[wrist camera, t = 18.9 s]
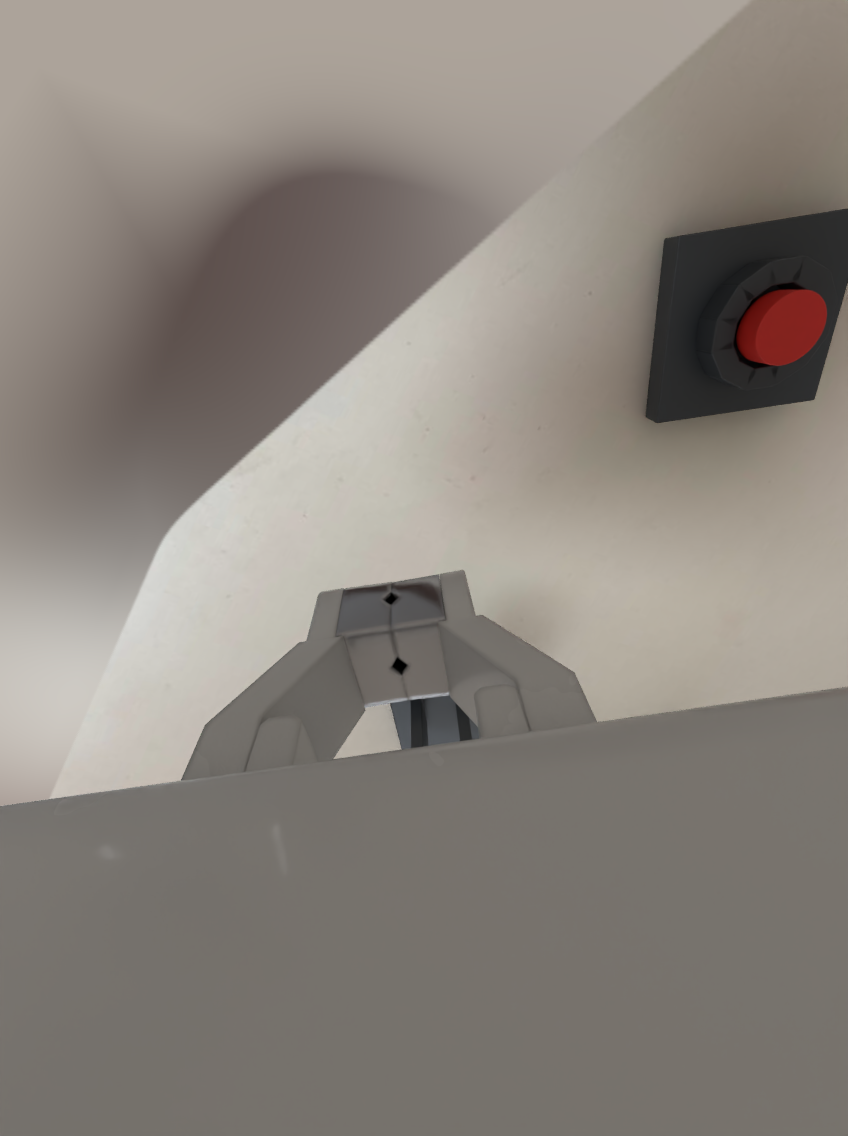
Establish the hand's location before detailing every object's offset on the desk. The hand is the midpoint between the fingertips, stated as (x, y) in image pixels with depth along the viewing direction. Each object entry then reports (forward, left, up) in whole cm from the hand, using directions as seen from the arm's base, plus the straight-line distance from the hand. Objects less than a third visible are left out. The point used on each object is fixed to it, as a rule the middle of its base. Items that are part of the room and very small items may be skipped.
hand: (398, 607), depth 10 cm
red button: (-1, +21, -21) cm, 29 cm away
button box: (-1, +21, -24) cm, 32 cm away
